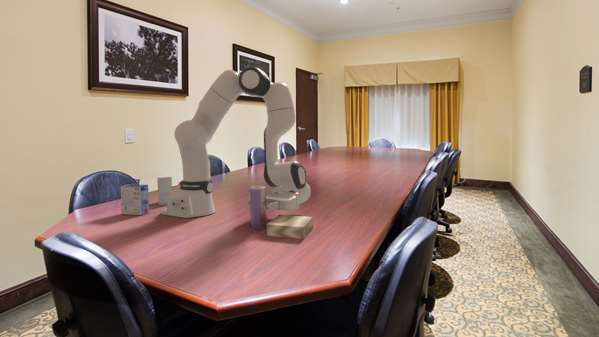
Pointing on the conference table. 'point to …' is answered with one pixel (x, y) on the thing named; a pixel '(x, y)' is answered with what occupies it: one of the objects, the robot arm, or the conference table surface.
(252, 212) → the beverage can
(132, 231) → the conference table surface
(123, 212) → the ink cartridge box
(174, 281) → the conference table surface
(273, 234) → the ash base block
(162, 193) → the small box
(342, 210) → the conference table surface
